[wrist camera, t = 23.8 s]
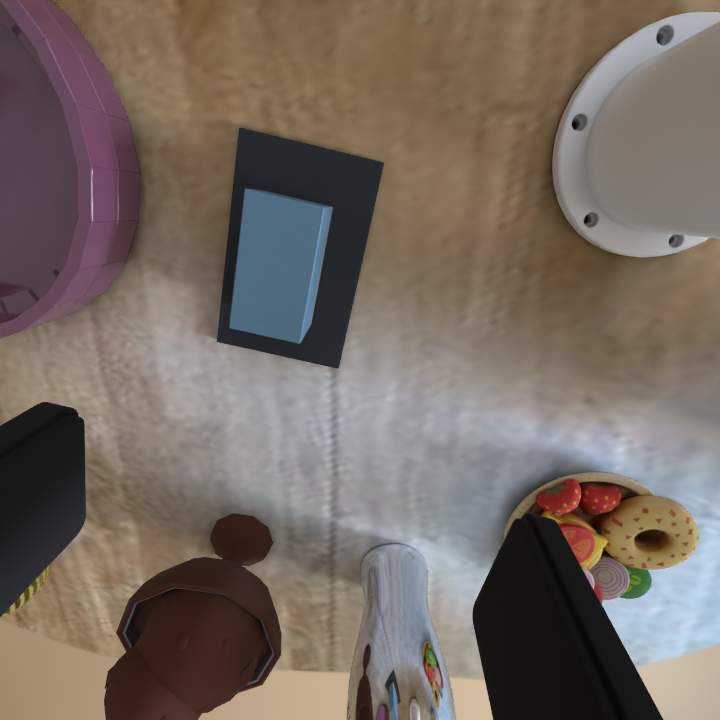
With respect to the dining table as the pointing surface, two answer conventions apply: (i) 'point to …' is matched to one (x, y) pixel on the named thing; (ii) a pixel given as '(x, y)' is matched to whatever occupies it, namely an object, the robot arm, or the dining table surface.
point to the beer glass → (397, 643)
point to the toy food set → (614, 529)
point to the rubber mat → (344, 242)
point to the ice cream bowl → (197, 632)
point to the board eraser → (278, 264)
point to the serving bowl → (59, 169)
